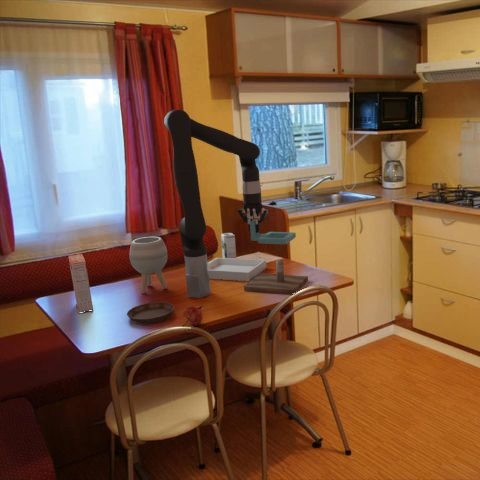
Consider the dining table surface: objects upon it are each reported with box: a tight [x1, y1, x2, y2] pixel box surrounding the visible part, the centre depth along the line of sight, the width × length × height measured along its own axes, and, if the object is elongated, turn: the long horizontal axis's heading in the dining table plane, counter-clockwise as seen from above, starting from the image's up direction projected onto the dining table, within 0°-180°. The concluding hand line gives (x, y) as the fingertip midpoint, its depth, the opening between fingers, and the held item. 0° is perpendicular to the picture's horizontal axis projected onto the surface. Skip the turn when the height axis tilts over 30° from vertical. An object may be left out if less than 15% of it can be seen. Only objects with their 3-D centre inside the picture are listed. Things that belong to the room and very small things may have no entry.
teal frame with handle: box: [249, 219, 297, 245], centre depth 225 cm, size 12×17×8 cm
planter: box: [128, 236, 168, 295], centre depth 235 cm, size 16×16×22 cm
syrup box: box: [220, 232, 237, 259], centre depth 269 cm, size 6×6×14 cm
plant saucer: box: [126, 301, 175, 325], centre depth 205 cm, size 18×18×3 cm
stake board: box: [243, 259, 309, 295], centre depth 228 cm, size 18×22×11 cm
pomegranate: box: [182, 305, 204, 327], centre depth 194 cm, size 7×7×10 cm
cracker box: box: [68, 253, 94, 313], centre depth 219 cm, size 14×6×21 cm, turn 21°
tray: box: [208, 257, 267, 282], centre depth 252 cm, size 20×26×4 cm
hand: (254, 232), depth 228 cm, fingers closed on teal frame with handle
